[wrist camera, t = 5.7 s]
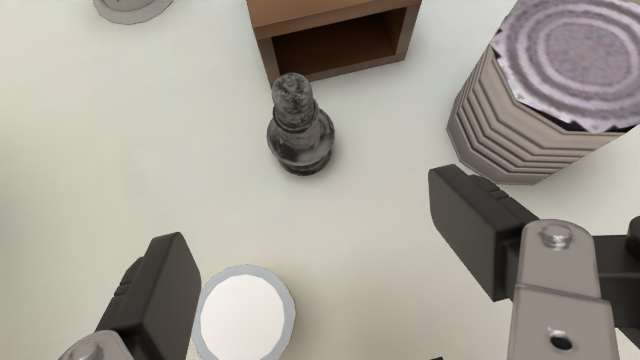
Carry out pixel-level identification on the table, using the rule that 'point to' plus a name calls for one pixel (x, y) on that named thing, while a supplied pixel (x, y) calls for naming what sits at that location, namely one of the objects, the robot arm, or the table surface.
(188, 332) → the robot arm
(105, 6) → the french press
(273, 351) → the white short cylinder
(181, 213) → the table surface
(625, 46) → the can
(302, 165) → the chess piece
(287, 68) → the l-shaped wooden block
